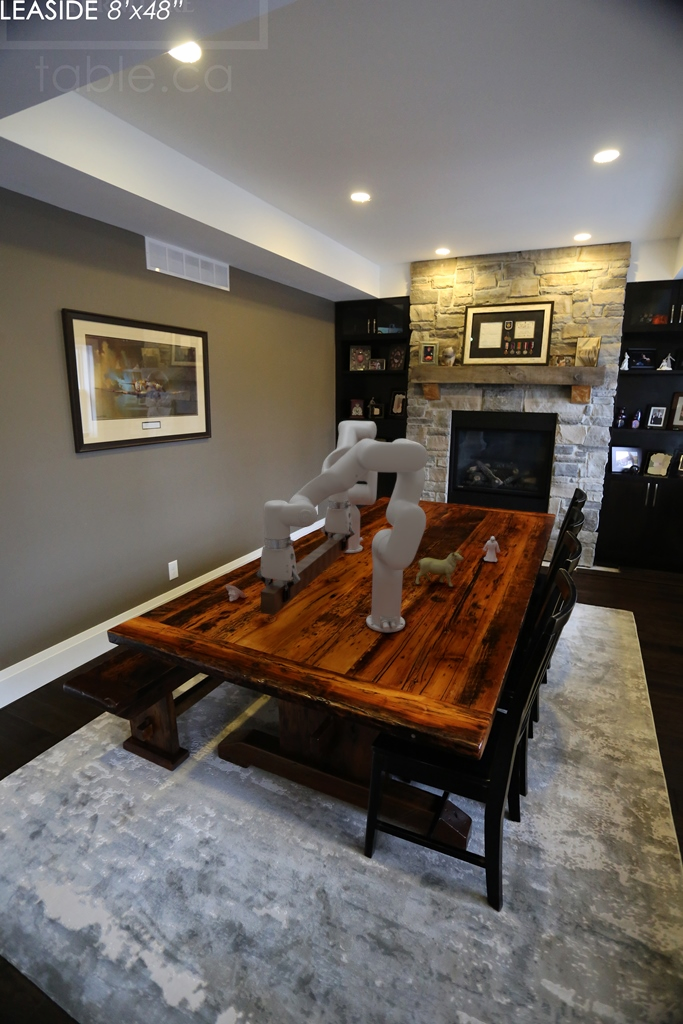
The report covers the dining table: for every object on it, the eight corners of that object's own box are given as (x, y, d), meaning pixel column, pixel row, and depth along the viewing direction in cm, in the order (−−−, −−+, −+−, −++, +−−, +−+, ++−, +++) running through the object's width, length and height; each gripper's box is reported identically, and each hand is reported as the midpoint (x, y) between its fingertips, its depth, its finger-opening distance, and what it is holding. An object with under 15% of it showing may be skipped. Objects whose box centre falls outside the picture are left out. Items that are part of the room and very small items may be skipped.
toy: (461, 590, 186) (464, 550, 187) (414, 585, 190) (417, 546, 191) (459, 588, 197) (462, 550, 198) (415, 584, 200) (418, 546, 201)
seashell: (231, 609, 179) (216, 592, 179) (241, 599, 183) (227, 583, 182) (239, 604, 173) (224, 587, 172) (250, 595, 177) (235, 577, 176)
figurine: (481, 562, 222) (483, 536, 219) (482, 556, 230) (484, 531, 227) (499, 564, 220) (501, 538, 217) (499, 558, 228) (501, 533, 225)
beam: (274, 615, 145) (273, 593, 144) (260, 613, 147) (260, 591, 145) (348, 549, 206) (348, 533, 205) (338, 547, 208) (338, 531, 206)
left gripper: (361, 504, 196) (360, 548, 201) (322, 500, 202) (321, 543, 206) (355, 509, 189) (354, 554, 194) (314, 504, 195) (314, 549, 199)
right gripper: (308, 541, 148) (309, 598, 153) (258, 535, 154) (260, 590, 158) (297, 549, 141) (298, 608, 146) (245, 542, 147) (248, 599, 152)
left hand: (337, 548), depth 200 cm, fingers closed on beam, 4 cm apart
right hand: (278, 598), depth 152 cm, fingers closed on beam, 4 cm apart
